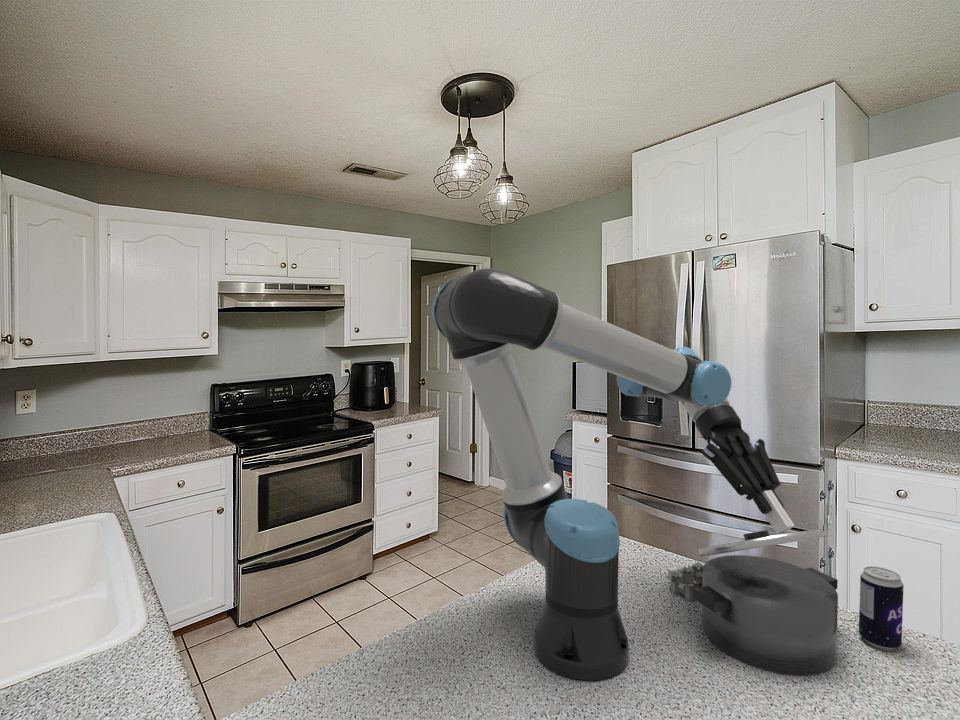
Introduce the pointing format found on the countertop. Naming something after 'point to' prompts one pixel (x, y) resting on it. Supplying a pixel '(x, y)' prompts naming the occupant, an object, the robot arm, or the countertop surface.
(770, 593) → the cooker pot
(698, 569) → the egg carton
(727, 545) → the lid
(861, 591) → the beverage can
